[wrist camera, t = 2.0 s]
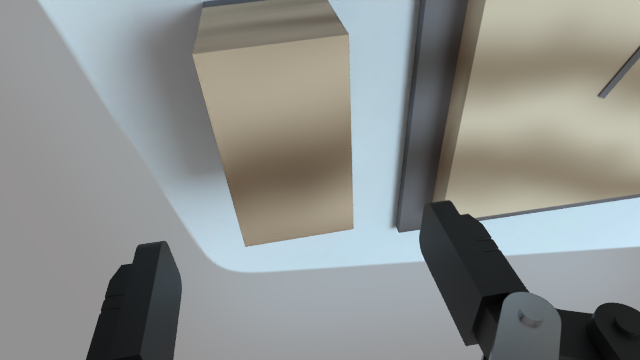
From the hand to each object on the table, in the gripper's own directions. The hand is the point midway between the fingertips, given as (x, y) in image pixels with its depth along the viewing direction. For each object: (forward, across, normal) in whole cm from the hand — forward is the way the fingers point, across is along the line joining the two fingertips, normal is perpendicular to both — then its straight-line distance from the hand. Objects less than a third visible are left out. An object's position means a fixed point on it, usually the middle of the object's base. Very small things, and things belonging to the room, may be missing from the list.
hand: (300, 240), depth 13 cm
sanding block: (+10, 0, 0) cm, 10 cm away
